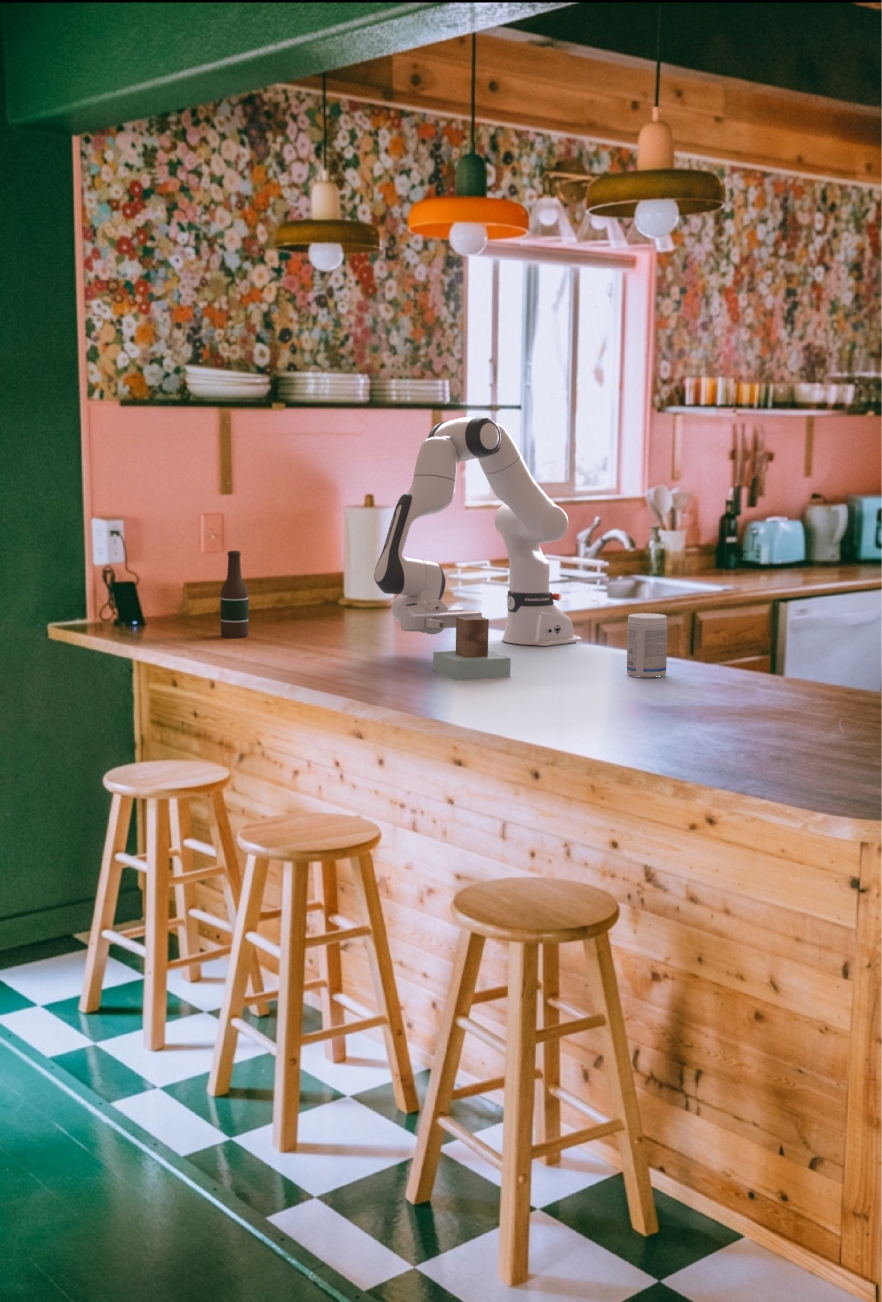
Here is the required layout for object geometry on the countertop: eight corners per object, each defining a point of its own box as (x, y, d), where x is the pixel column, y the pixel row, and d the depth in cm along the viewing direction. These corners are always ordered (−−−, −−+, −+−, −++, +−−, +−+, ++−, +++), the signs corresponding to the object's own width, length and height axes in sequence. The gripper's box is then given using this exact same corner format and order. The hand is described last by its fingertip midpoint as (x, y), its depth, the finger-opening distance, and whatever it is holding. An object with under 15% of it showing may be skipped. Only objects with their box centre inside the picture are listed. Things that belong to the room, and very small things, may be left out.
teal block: (484, 669, 330) (485, 649, 329) (510, 678, 318) (510, 658, 317) (433, 672, 325) (433, 652, 324) (456, 682, 312) (457, 661, 311)
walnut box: (478, 652, 324) (479, 616, 322) (487, 656, 318) (488, 619, 317) (455, 653, 322) (456, 616, 320) (464, 657, 316) (465, 620, 315)
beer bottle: (254, 636, 375) (254, 550, 371) (236, 639, 368) (235, 552, 364) (233, 633, 379) (232, 549, 375) (214, 636, 372) (214, 551, 368)
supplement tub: (670, 674, 325) (672, 614, 323) (660, 680, 316) (663, 619, 314) (631, 670, 329) (633, 611, 326) (621, 676, 320) (623, 616, 318)
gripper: (466, 626, 342) (493, 634, 330) (395, 630, 332) (421, 638, 320) (466, 602, 341) (494, 608, 329) (395, 605, 331) (421, 612, 319)
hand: (457, 623), depth 324 cm, fingers open, 8 cm apart
